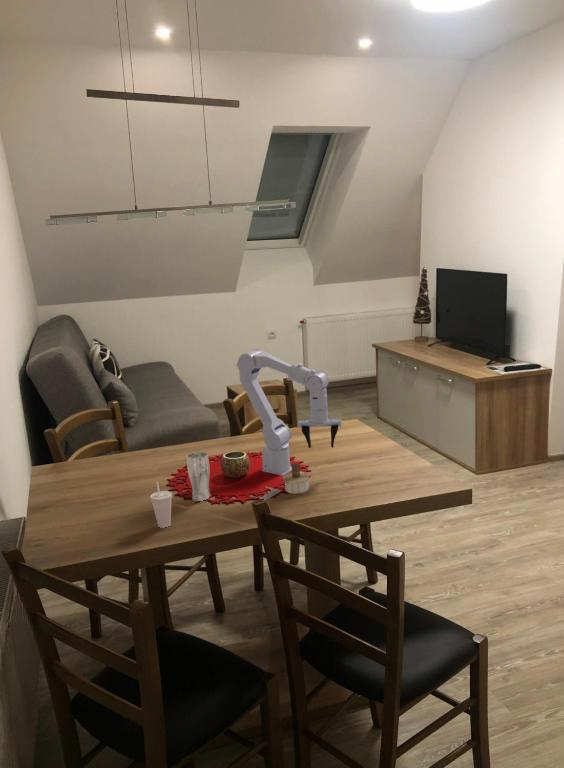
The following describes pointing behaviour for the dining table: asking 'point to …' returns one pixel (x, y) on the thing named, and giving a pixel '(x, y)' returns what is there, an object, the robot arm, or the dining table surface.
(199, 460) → the beer glass
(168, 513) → the smoothie
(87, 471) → the dining table surface
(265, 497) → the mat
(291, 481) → the lid
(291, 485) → the bowl
